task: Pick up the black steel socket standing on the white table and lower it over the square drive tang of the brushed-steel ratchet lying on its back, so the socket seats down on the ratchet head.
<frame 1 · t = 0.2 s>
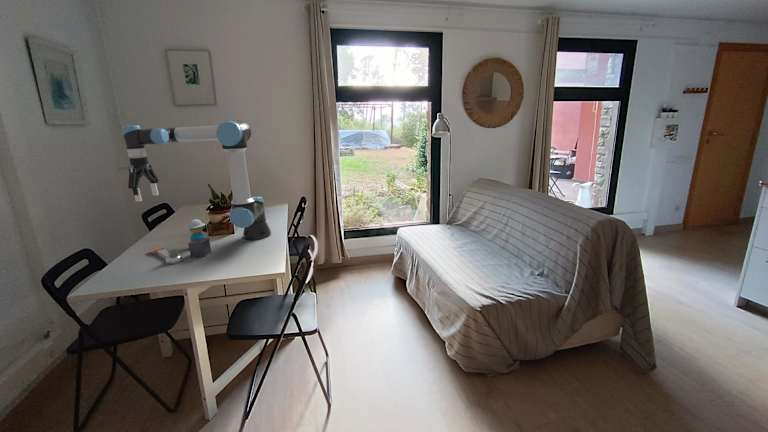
hand: (147, 198, 178), 28 cm above the table, fingers open, 13 cm apart
socket: (201, 254, 174), on the table
ratchet: (174, 261, 166), on the table
toy: (200, 246, 187), on the table
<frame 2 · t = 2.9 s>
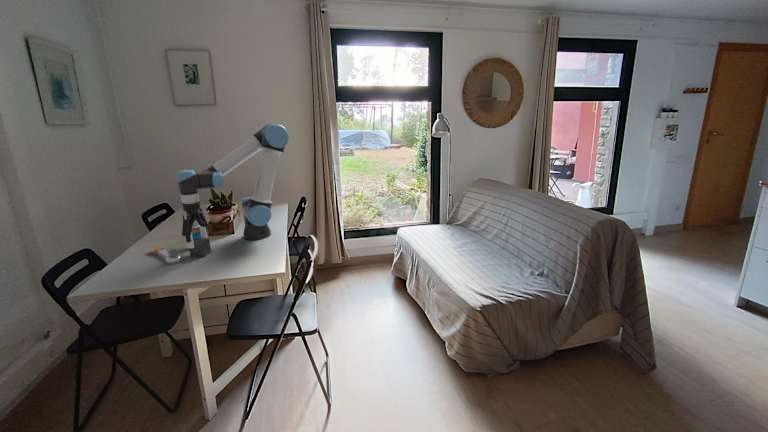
hand: (198, 243, 172), 6 cm above the table, fingers open, 13 cm apart
nothing on the table moved.
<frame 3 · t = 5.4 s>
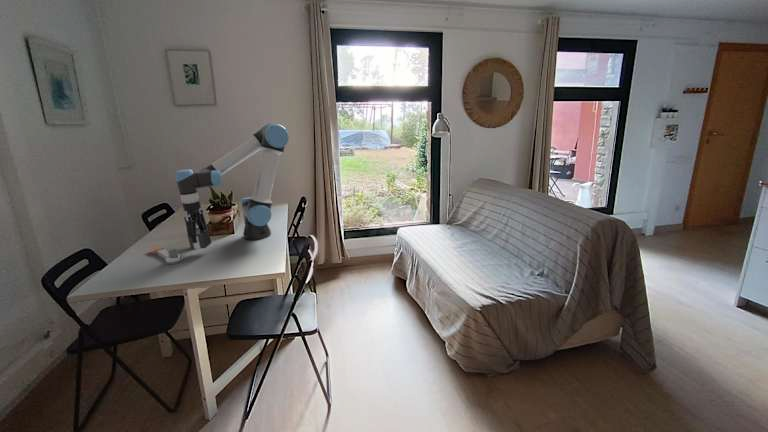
hand: (201, 245, 173), 5 cm above the table, fingers closed on socket, 7 cm apart
socket: (201, 246, 173), point 4 cm above the table, touching gripper
everything else where it was.
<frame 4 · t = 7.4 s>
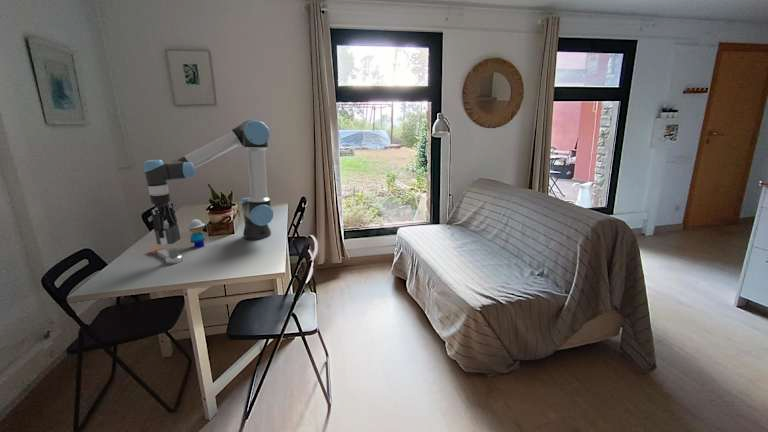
hand: (169, 241, 163), 11 cm above the table, fingers closed on socket, 7 cm apart
socket: (169, 241, 163), point 10 cm above the table, touching gripper
everything else where it was.
when the fingers open (4 cm above the table, at t = 9.2 s): socket drops 1 cm, resting on ratchet.
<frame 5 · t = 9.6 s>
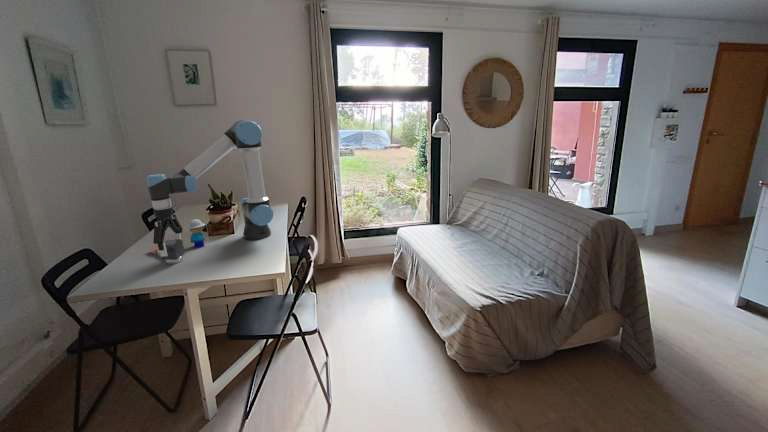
hand: (172, 250, 165), 6 cm above the table, fingers open, 12 cm apart
socket: (173, 256, 166), point 2 cm above the table, touching ratchet
everything else where it was.
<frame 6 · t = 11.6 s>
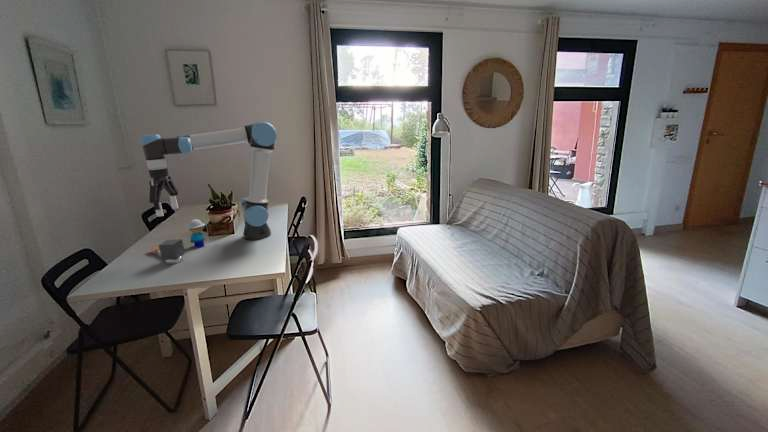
hand: (168, 212, 166), 23 cm above the table, fingers open, 13 cm apart
nothing on the table moved.
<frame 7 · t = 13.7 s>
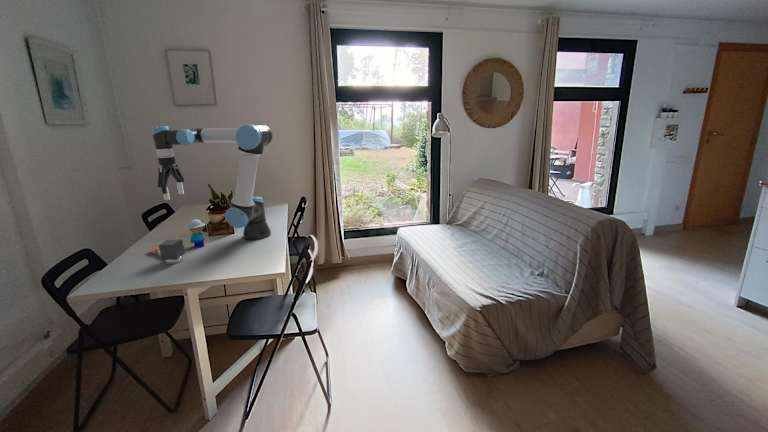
hand: (174, 196, 184), 27 cm above the table, fingers open, 13 cm apart
nothing on the table moved.
at the end: socket 0.1 cm from the ratchet (horizontally); socket point 2.5 cm above the table; the gripper is holding nothing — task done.
